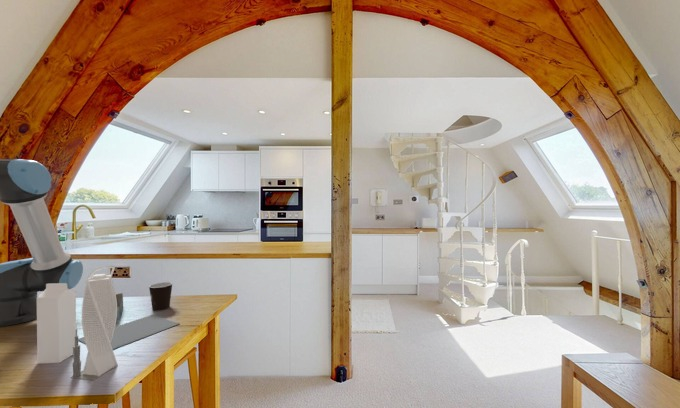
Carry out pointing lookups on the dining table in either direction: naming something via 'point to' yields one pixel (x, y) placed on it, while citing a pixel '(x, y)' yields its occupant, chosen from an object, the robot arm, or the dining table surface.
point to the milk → (56, 323)
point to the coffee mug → (160, 295)
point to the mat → (138, 330)
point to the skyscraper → (97, 327)
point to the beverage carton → (119, 305)
